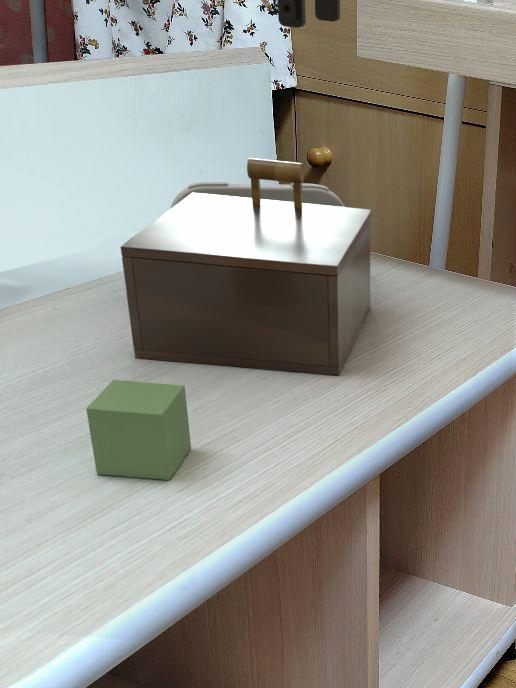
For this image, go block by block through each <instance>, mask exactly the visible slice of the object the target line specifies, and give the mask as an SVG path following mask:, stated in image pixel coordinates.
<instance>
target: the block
mask: <svg viewBox="0 0 516 688" xmlns="http://www.w3.org/2000/svg"><path fill="white" fill-rule="evenodd" d="M187 403H188V402H187V394H186V386H185V385H181V384H168V383H159V382H158V383H157V382H146V381H136V380H135V381H134V380H124V379H123V380H122V379H112V381H111V382H110V383H109V384H108V385H107V386H106V387H105V388H104V389H103V390H102V391H101V392H100V393H99V394H98V395H97V396H96V398H95V399H93V400H92V401H91V402H90V404H89V405H88V406H87V407H86V408H85V409H86V415H87V423H88V429H89V434H90V435H89V436H90V440H91V447H92V452H93V453H92V454H93V460H94V465H95V466H94V467H95V472H96V474H97V475H103V476H115V477H125V478H126V477H127V478H138V479H139V478H140V479H150V480H151V479H152V480H163V481H171V479H172V477H173V476H174V474H175V473H176V471H177V470H178V468H179V467H180V466H181V464H182V463H183V461H184V460H185V458H186V457H187V455H188V454H189V452H190V450H191V449H192V443H191V432H190V422H189V414H188V412H189V411H188V404H187Z"/></svg>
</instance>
